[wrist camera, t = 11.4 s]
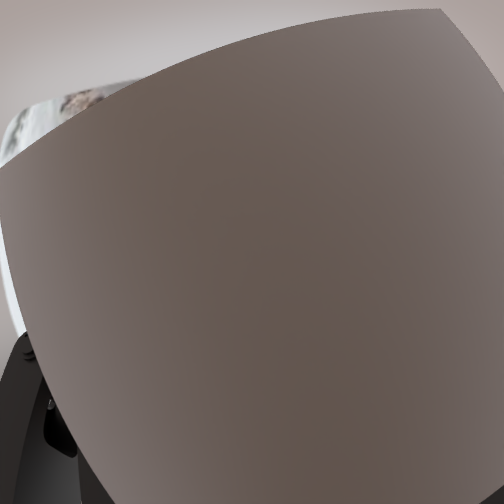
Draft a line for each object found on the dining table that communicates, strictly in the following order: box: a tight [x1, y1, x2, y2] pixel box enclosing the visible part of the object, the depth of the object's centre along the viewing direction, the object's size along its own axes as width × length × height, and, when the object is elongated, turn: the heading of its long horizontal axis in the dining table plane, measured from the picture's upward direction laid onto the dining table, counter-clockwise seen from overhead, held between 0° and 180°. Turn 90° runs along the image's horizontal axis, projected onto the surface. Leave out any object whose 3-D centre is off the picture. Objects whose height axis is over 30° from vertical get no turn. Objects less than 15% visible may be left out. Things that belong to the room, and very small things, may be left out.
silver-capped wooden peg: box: [0, 9, 504, 504], centre depth 10 cm, size 4×4×16 cm
